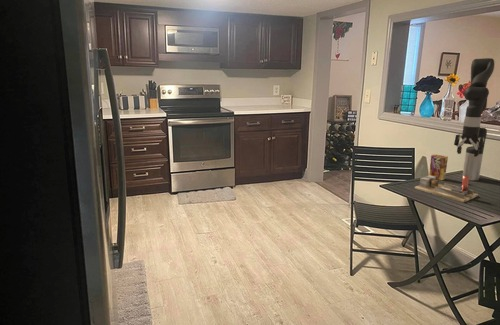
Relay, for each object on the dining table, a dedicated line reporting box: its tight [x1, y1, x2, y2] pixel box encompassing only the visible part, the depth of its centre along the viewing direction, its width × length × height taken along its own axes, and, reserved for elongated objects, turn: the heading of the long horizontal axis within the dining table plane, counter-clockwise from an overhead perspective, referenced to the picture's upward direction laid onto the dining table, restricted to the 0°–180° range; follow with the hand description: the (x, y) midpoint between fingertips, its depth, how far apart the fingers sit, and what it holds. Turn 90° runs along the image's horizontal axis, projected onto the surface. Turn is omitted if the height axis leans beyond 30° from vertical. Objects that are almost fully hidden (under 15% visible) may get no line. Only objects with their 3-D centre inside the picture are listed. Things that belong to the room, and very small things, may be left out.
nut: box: [431, 179, 440, 188], centre depth 209 cm, size 4×4×4 cm
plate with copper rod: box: [451, 175, 471, 196], centre depth 196 cm, size 8×6×11 cm
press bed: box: [414, 174, 479, 203], centre depth 203 cm, size 16×28×6 cm, turn 33°
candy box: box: [428, 153, 449, 181], centre depth 227 cm, size 9×4×15 cm, turn 39°
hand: (467, 155), depth 191 cm, fingers open, 8 cm apart
